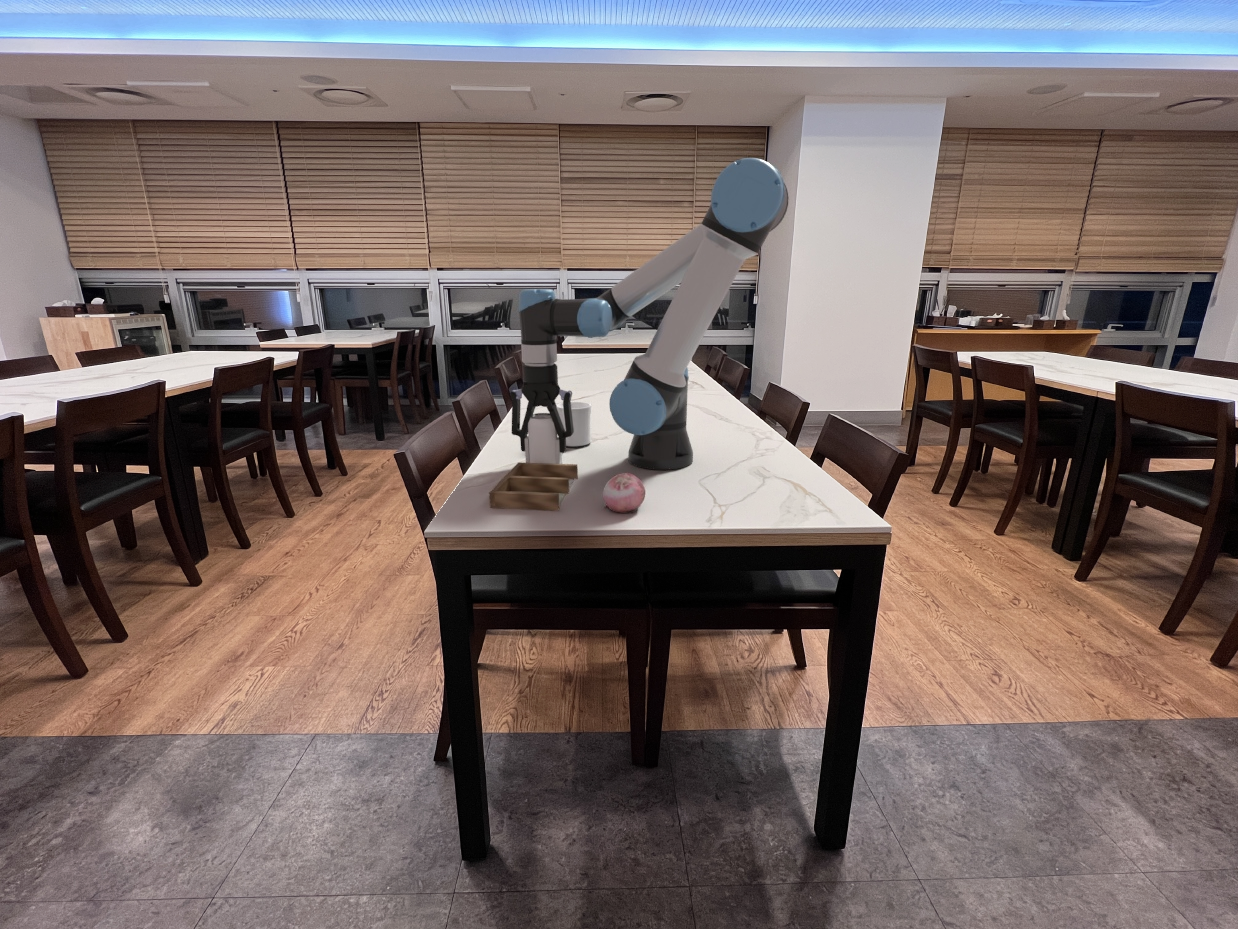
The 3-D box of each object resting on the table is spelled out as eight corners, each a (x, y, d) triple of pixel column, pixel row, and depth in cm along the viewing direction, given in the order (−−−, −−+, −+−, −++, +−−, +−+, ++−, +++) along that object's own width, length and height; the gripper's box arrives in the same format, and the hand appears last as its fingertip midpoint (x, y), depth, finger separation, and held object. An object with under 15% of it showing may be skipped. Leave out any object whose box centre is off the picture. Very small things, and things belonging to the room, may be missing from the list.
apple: (619, 523, 105) (605, 489, 102) (603, 512, 112) (590, 479, 109) (656, 503, 107) (644, 469, 105) (638, 494, 114) (626, 461, 112)
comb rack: (577, 477, 126) (577, 464, 125) (558, 510, 108) (557, 495, 107) (519, 475, 128) (518, 462, 127) (490, 507, 110) (489, 492, 109)
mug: (591, 448, 148) (590, 408, 145) (555, 448, 148) (554, 408, 145) (593, 437, 158) (592, 400, 155) (560, 437, 158) (559, 400, 155)
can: (553, 472, 130) (551, 419, 126) (525, 470, 131) (523, 418, 127) (562, 463, 136) (560, 413, 132) (535, 462, 137) (533, 411, 133)
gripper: (586, 361, 129) (588, 461, 136) (501, 360, 131) (508, 459, 138) (580, 366, 122) (582, 471, 129) (490, 365, 124) (498, 468, 131)
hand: (544, 465), depth 133 cm, fingers closed on can, 6 cm apart
